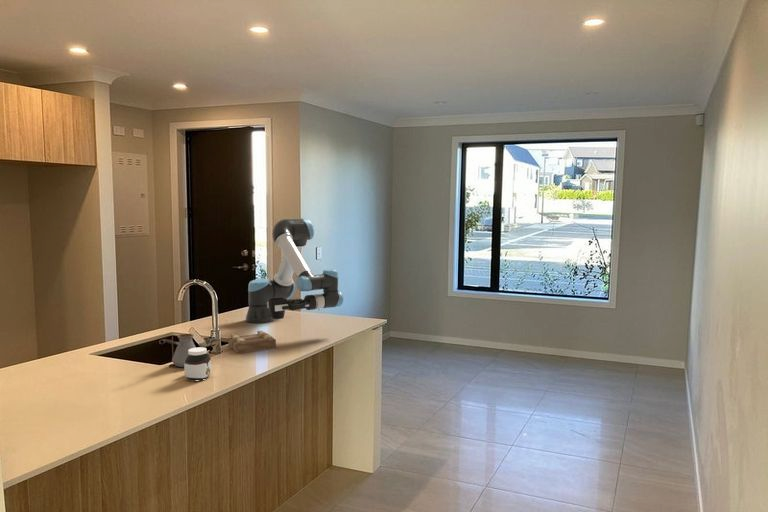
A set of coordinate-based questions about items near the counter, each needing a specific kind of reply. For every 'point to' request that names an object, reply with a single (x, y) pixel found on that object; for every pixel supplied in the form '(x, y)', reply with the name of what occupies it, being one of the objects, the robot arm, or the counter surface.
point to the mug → (272, 304)
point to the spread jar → (197, 364)
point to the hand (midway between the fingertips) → (271, 306)
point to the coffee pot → (181, 348)
